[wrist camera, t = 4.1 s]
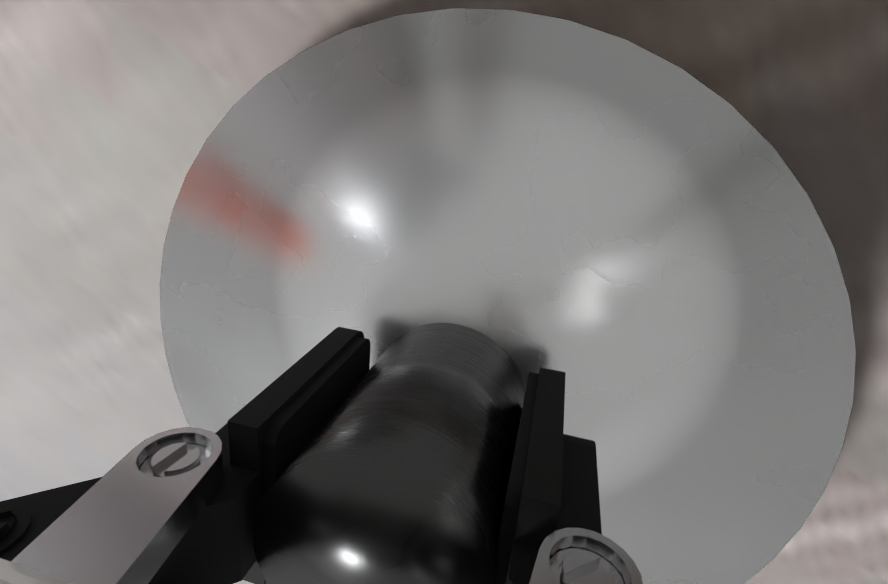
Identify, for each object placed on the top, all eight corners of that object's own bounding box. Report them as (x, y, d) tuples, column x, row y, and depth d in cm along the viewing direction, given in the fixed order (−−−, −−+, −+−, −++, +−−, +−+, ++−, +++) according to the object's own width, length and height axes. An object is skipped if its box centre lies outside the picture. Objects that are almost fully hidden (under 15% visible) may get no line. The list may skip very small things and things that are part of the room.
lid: (937, 0, 8) (1795, -295, 2) (740, 666, 13) (862, 1069, 8) (143, 35, 12) (-258, -48, 6) (233, 545, 17) (62, 756, 11)
